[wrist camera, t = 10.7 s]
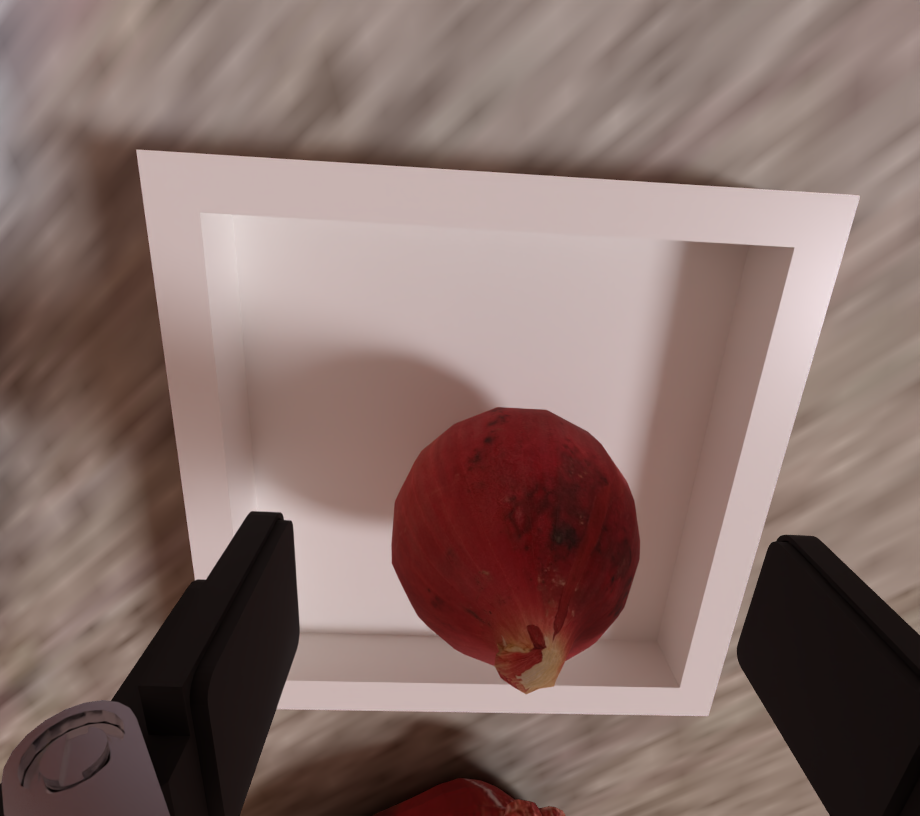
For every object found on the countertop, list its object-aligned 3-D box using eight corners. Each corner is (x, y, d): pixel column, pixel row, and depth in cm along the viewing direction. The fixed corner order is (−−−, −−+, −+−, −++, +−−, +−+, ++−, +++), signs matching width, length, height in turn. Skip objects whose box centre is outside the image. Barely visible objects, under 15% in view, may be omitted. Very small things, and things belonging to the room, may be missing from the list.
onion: (458, 334, 15) (477, 469, 8) (629, 421, 16) (786, 611, 9) (371, 497, 17) (318, 732, 10) (530, 565, 18) (593, 823, 11)
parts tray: (195, 159, 14) (136, 149, 12) (783, 196, 15) (860, 195, 12) (244, 637, 20) (212, 707, 17) (672, 646, 21) (708, 715, 18)
